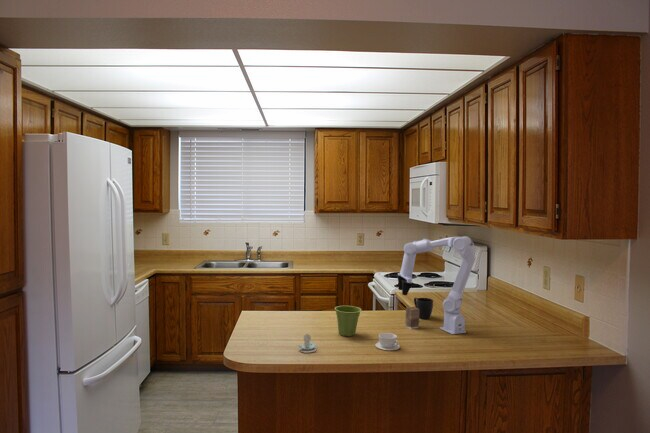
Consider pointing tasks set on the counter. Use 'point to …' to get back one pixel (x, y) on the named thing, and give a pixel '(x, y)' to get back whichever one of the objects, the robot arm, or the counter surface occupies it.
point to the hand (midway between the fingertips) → (402, 292)
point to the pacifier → (308, 345)
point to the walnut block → (412, 317)
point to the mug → (424, 307)
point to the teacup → (387, 341)
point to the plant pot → (347, 319)
